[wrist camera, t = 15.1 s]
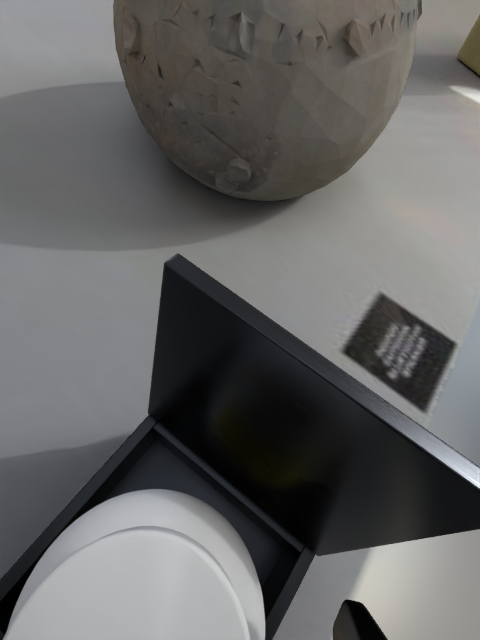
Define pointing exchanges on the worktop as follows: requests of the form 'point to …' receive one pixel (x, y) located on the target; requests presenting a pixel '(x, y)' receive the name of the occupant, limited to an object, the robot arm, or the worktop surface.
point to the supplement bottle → (143, 576)
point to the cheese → (472, 48)
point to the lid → (298, 426)
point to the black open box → (190, 478)
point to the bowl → (265, 85)
